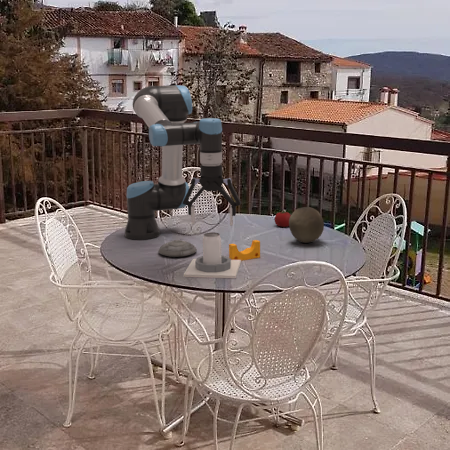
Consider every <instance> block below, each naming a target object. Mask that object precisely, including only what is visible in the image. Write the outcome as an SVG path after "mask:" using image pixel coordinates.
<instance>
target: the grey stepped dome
mask: <svg viewBox="0 0 450 450" xmlns="http://www.w3.org/2000/svg"><path fill="white" fill-rule="evenodd" d="M197 251H198V250H197V247H196V246H195V245H194V244H193V243H191V242H189V241H187V240H186V241H185V240H181V239H176V240H171V241H168V242H166V243H164V244H162V245H161V246H160V248H158V253H159V254H160V255H162V256H165V257H171V258H172V257H173V258H177V257H186V256H191V255H193V254H195V253H196V252H197Z"/></svg>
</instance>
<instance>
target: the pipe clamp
mask: <svg viewBox="0 0 450 450" xmlns="http://www.w3.org/2000/svg"><path fill="white" fill-rule="evenodd" d="M228 257H229V258H230V259H231V260H241V262H242V261H243V262H244V261H246V260H253V259H260V258H261V241H260V240H258V239H253V240H251V245H250V247H246V248H245V249H243V250H239V248H238V245H237V244H235V243H229V244H228Z"/></svg>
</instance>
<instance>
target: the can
mask: <svg viewBox="0 0 450 450" xmlns="http://www.w3.org/2000/svg"><path fill="white" fill-rule="evenodd" d="M220 235H221V234H220V233H219V232H213V231H212V232H205V233H204V234H203V237H202V256H203V264H212V265H215V264H221V255H222V238H221V236H220Z"/></svg>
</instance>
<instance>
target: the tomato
mask: <svg viewBox="0 0 450 450" xmlns="http://www.w3.org/2000/svg"><path fill="white" fill-rule="evenodd" d="M291 215H292V214H291V213H289V212H287V211H285V210H282V211H280V212H276V214H275V215H274V223H275V225H276V226H277V227H281V228H287V227H289V218H290V216H291Z"/></svg>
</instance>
